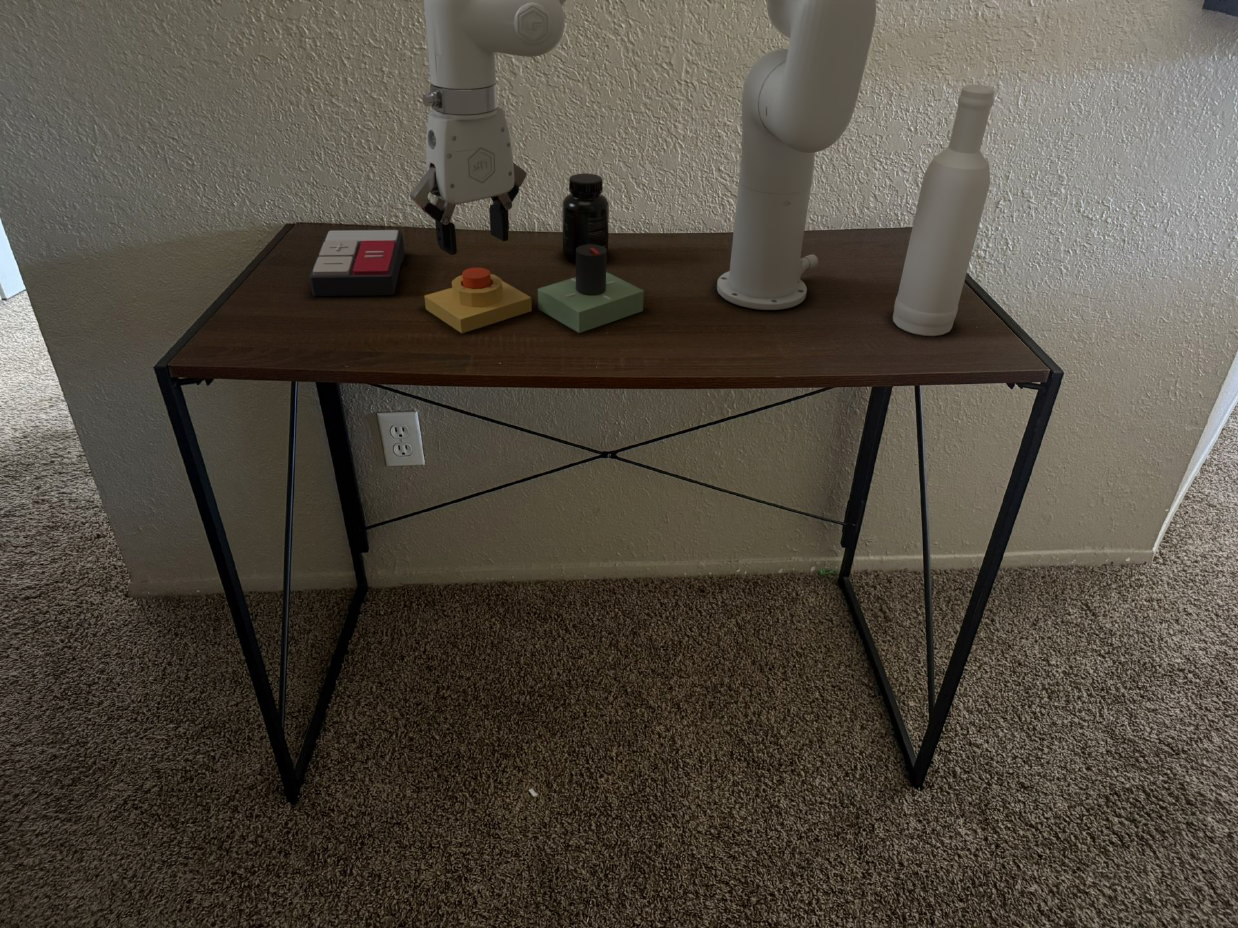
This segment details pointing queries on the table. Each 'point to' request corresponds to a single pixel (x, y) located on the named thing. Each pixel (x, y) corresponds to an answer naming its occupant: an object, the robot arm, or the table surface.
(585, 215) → the supplement bottle
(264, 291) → the table surface
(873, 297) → the table surface
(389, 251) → the calculator
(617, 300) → the dial panel
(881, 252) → the table surface
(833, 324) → the table surface
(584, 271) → the lock dial
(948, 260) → the bottle
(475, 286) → the button
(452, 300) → the tan flat block
